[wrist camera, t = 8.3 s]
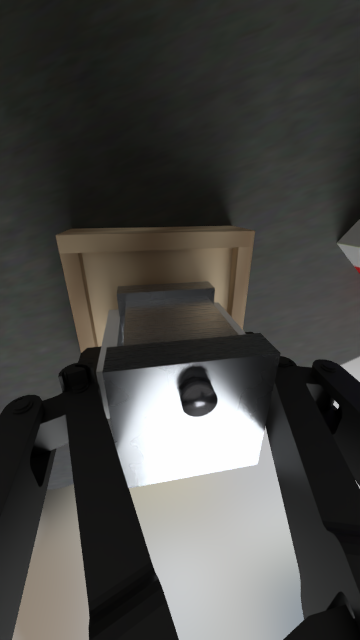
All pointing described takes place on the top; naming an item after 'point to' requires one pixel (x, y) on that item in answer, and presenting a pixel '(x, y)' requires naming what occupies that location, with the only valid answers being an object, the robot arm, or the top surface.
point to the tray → (151, 267)
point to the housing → (185, 385)
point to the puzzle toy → (352, 245)
